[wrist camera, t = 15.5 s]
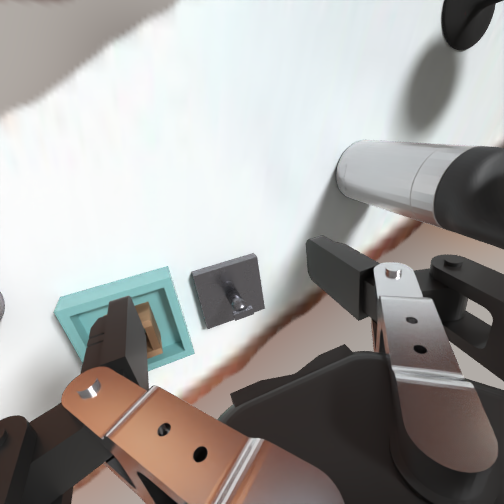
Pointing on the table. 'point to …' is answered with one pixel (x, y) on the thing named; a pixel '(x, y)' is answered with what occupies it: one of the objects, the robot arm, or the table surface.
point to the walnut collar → (150, 329)
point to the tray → (140, 290)
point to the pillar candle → (1, 305)
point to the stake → (229, 290)
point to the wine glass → (466, 21)
